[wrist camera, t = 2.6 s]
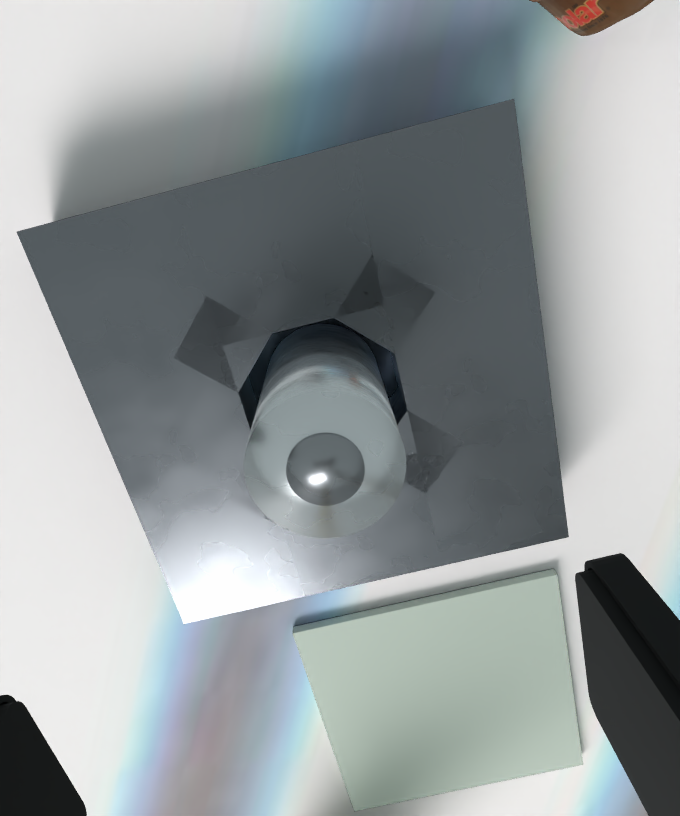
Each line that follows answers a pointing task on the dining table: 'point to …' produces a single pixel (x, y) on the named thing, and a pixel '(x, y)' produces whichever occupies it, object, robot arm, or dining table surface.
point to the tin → (591, 13)
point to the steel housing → (305, 304)
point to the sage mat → (445, 690)
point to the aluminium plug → (324, 436)
